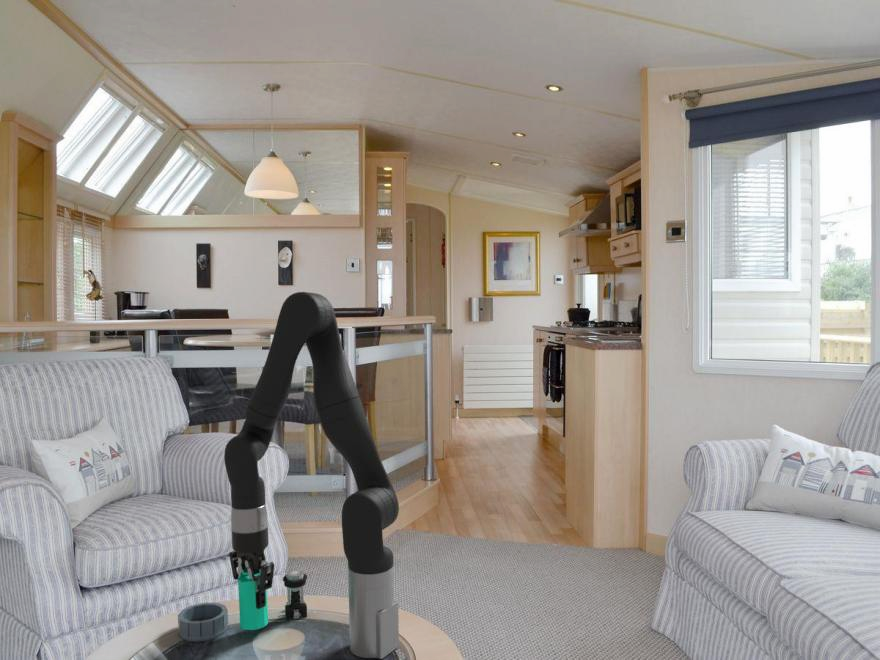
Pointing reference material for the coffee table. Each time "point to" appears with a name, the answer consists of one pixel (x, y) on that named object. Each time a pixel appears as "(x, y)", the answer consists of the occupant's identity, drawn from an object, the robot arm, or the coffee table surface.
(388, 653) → the robot arm
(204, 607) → the candle dish
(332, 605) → the coffee table surface
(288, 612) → the push button
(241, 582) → the candle
